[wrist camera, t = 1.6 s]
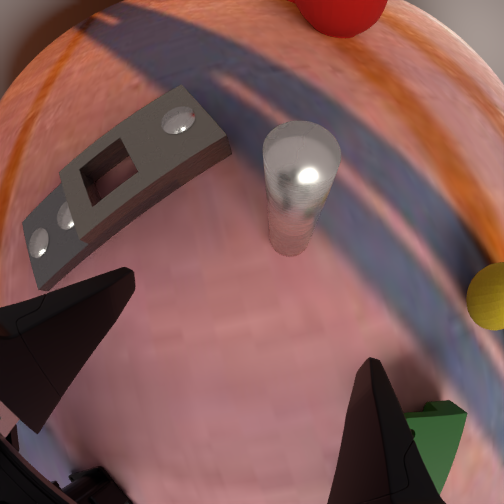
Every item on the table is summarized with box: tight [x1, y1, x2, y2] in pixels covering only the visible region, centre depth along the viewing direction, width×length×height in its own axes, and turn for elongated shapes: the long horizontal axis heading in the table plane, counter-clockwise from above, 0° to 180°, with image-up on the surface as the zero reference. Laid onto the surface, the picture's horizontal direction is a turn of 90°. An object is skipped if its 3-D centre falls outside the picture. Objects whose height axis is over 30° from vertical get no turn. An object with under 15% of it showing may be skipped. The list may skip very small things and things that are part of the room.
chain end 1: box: [59, 85, 232, 244], centre depth 24 cm, size 16×9×3 cm, turn 124°
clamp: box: [404, 400, 467, 495], centre depth 15 cm, size 12×6×9 cm, turn 168°
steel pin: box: [263, 121, 341, 257], centre depth 17 cm, size 3×3×12 cm
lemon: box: [466, 262, 504, 330], centre depth 16 cm, size 6×6×8 cm
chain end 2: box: [22, 147, 181, 291], centre depth 25 cm, size 18×9×2 cm, turn 124°
